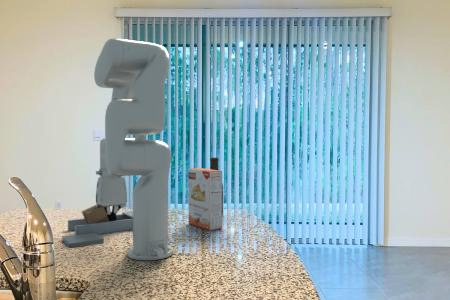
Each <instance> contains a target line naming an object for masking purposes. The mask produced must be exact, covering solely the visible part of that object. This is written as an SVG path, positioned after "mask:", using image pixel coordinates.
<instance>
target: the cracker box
mask: <svg viewBox="0 0 450 300" xmlns="http://www.w3.org/2000/svg"><path fill="white" fill-rule="evenodd" d="M187 171H188V173H187V174H188V175H187V176H188V179H187V180H188V181H187V182H188V183H187V184H188V186H187V187H188V188H187V190H188V193H187V194H188V224H190V225H192V226H195V227H198V228H201V229H204V230H206V231H210V232H211V231H216V230H222V229H223V216H222V184H223V170H219V169H218V170H211V169H210V168H204V167H203V168H202V167H191V168H188V169H187Z"/></svg>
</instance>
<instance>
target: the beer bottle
mask: <svg viewBox="0 0 450 300" xmlns="http://www.w3.org/2000/svg"><path fill="white" fill-rule="evenodd" d="M209 161H210V168H209V169H211V170H219V157H210V160H209ZM223 216H224V185H223V183H222V217H223Z"/></svg>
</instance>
